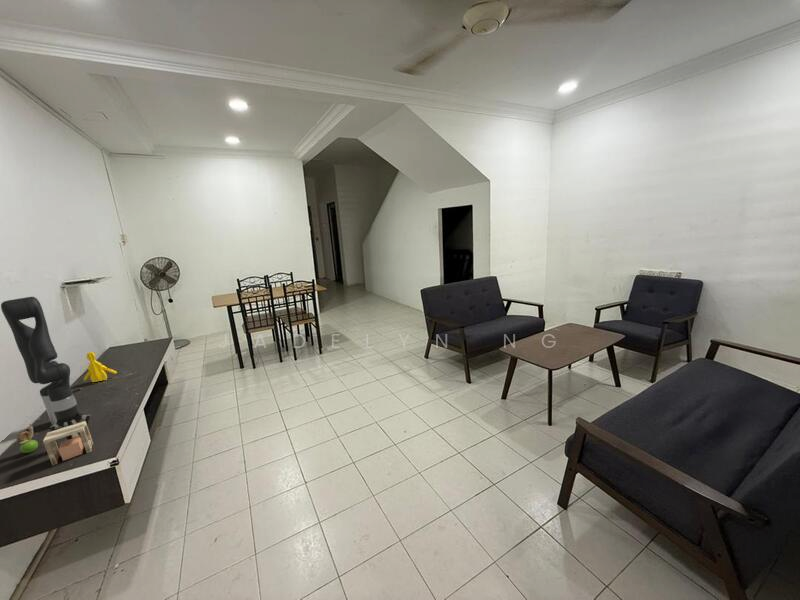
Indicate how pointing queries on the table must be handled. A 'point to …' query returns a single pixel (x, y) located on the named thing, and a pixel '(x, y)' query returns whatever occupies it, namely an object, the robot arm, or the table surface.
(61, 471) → the table surface
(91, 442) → the beige u-shaped block
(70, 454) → the cube base joystick
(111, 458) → the table surface
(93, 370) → the figure statuette
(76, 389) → the table surface
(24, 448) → the snail figurine
